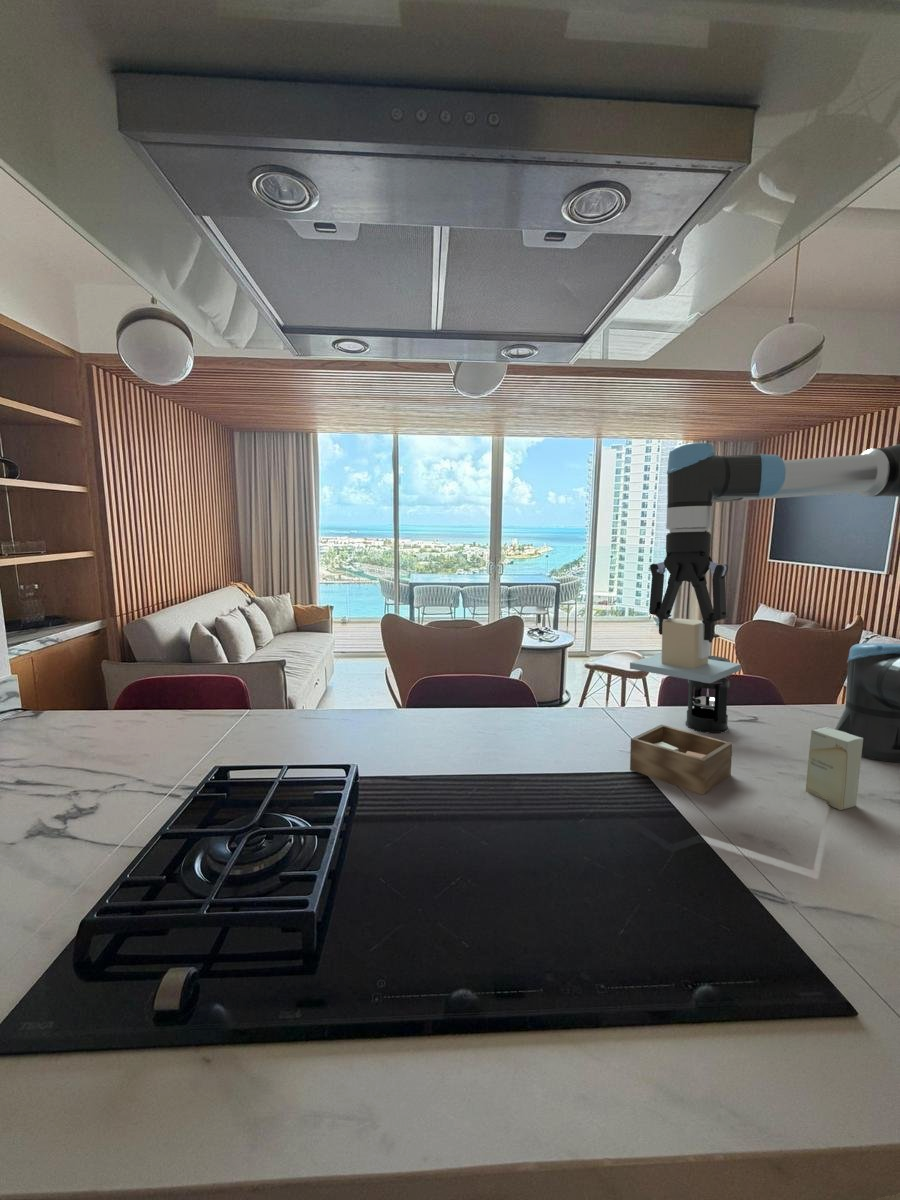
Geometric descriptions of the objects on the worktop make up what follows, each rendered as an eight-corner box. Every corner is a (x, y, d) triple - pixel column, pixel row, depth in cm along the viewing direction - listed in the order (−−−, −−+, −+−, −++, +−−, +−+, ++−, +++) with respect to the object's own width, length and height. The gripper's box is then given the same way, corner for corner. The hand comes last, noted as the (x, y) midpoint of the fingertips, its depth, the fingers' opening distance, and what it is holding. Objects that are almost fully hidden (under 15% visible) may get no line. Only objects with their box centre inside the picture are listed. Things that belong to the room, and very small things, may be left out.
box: (730, 778, 99) (732, 743, 98) (702, 799, 91) (704, 760, 91) (660, 756, 110) (661, 724, 109) (629, 773, 102) (630, 738, 101)
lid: (740, 670, 97) (742, 621, 96) (710, 683, 88) (711, 630, 87) (663, 658, 108) (664, 614, 107) (629, 668, 100) (630, 621, 99)
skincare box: (804, 795, 92) (808, 728, 91) (821, 790, 94) (825, 725, 93) (842, 811, 87) (847, 741, 85) (859, 806, 88) (864, 737, 87)
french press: (676, 720, 132) (679, 630, 130) (712, 718, 133) (716, 629, 130) (702, 736, 120) (706, 639, 118) (741, 735, 121) (746, 638, 119)
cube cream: (677, 768, 102) (678, 748, 102) (663, 772, 100) (663, 752, 100) (661, 760, 106) (662, 741, 105) (647, 764, 104) (647, 745, 104)
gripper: (752, 529, 91) (747, 659, 93) (650, 532, 105) (647, 645, 108) (735, 529, 86) (729, 666, 88) (630, 532, 100) (628, 650, 103)
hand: (684, 654), depth 98 cm, fingers closed on lid, 6 cm apart
